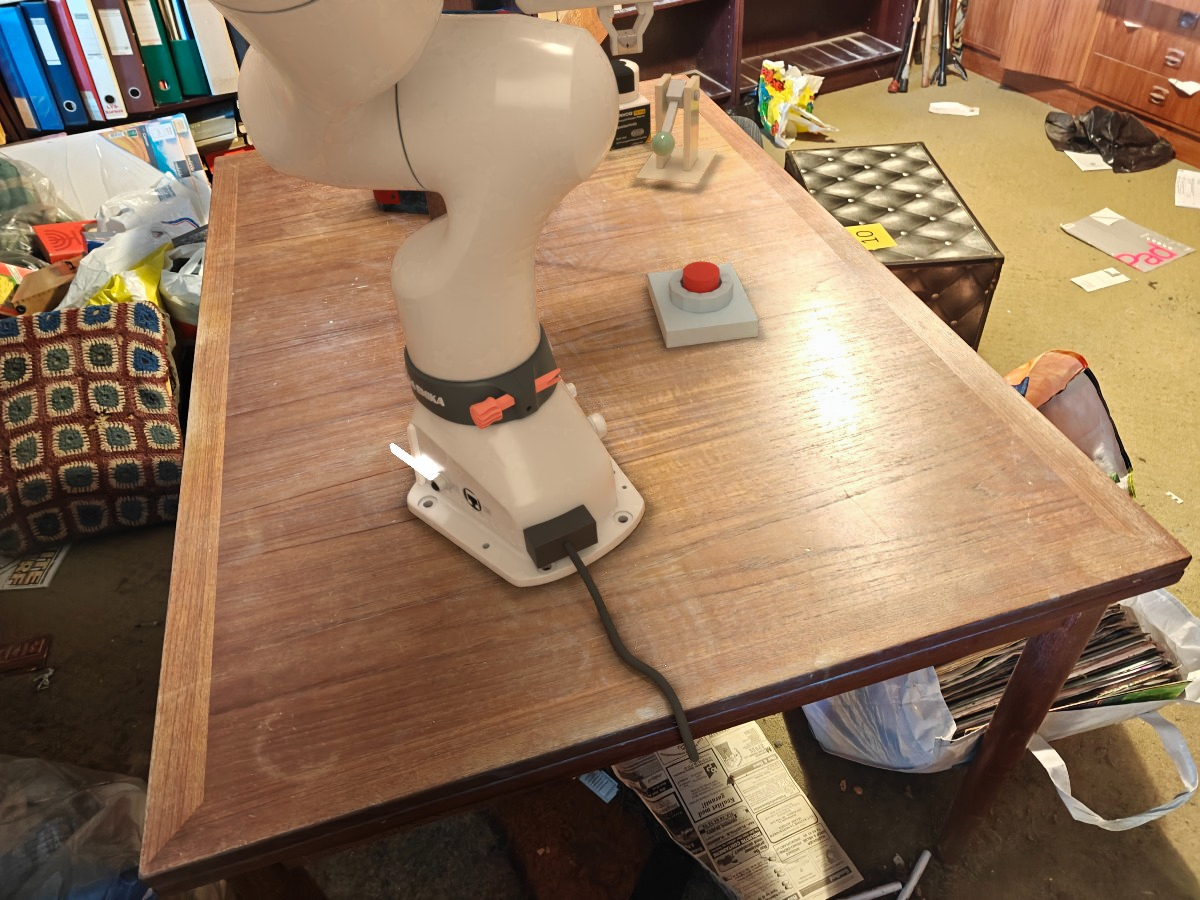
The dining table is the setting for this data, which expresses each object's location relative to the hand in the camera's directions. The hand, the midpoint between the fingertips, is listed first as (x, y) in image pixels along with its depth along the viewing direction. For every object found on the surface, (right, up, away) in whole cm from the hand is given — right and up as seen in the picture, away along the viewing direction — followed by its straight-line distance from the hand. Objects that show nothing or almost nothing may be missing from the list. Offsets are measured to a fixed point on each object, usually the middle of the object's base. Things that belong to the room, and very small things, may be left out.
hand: (626, 52), depth 82 cm
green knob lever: (+7, +6, +34) cm, 36 cm away
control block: (+9, -23, +15) cm, 28 cm away
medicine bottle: (+1, +9, +49) cm, 50 cm away
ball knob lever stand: (+9, +2, +41) cm, 42 cm away
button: (+9, -20, +12) cm, 25 cm away
